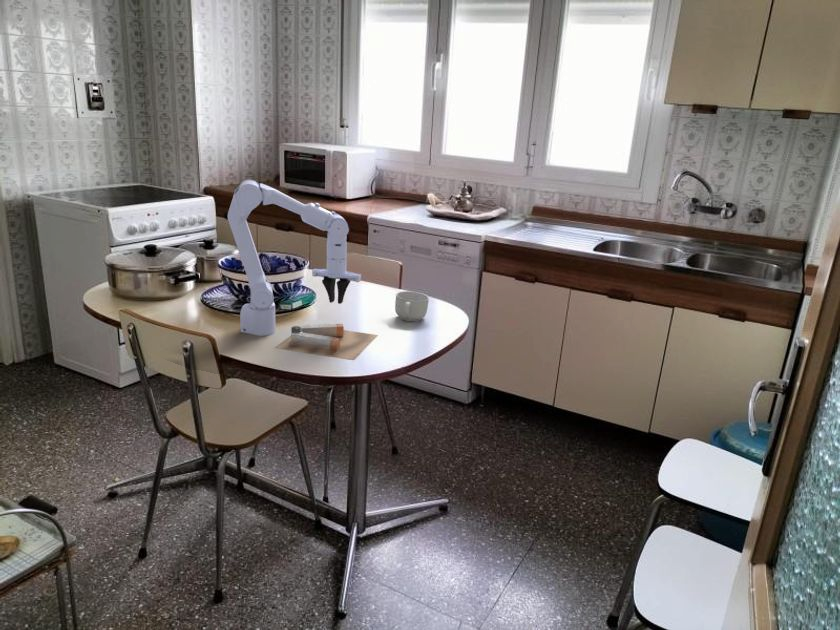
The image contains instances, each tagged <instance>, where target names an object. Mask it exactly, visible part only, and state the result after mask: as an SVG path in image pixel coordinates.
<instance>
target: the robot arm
mask: <svg viewBox="0 0 840 630" xmlns="http://www.w3.org/2000/svg"><path fill="white" fill-rule="evenodd" d="M261 203H262V205H263V206H267V205H271V204H273V205H277V206H279V207H281V208H283V209H286V210H288V211H290V212H292V213H295V214H298V215H300V218H301V220H302V222H304V223H306V224H307V225H310V226H312V227H314V228H316V229H317V230H320V231H322V232H325V231H327V240H326V268H321V269H320V268H313V269H312V271H311V274H312V275H311V276H312V277H313V278H314V277H319V278H320V277H321V278H323V279H322V281H321V282H322V285H323V287H324V288H325V291H326V294H327V297H328V301H329V303H334V302H335V298H336V289H335V288H337V303H338V304H339V305H340V304H342V303H343V302H344V298H345V295H346V291H347V288H348V287H349V285H350V283H351V282H355V283H361V281H362V274H361V273H356V272H352V271H347V263H348V262H347V258H348V256H347V255H348V254H347V250H348V247H347V246H348V243H347V240H348V239H347V238H348V237H347V235H348V234H349V231H350V228H349V225H348V222H347V221H346V219H345V218H344V217H343V216H341V215H340V214H339V213H336V211H333V210H331V211H330V210H327V209H325V208H323V207H321V204H320V203H318V202H315V203H313V202H308V203H303V202H300V201H298V200H297V199H295V198H293V197H291V196H289V195H287V194H285V193H283V192H281V191H280V190H278V189H276V188H273V187H272V186H269V185H267V184H264V183H259V182H257V181H255V180H253V179H245V180H243V181H242V182H240V184H239V185H237V188H235V190H234V194H233V197H232V200H231V202H230V206H229V209H228V212H227V220H228V223H229V226H230V229H231V233H232V234H233V235H232V236H233V238H234V241H235V244H236V246H237V247H236V248H237V251H238V253H239V256H240V259H241V262H242V265H243V268H244V271H245V274H246V276H247V281H248V285H249V289H250V302H249V303H245V304H244V305H242V306H241V308H240V309H241V310H240V313H239V317H240V318H239V319H240V333H245V334H251V335H254V336H261V337H263V336H265V337H266V336H271V335H274V334H275V333H276V304H275V302H274V301H275V300H274V299H275V298H274V294H273V293H274V292H273V289H274V288H273V286H272V284H271V282H270V281H268V279H267V277H266V274H265V272H264V270H263V268H262V267H263V266H262V264H261V260H260V257H259V255H258V251H257V248H256V245H255V243H254V242H255V241H254V239H253V235H252V233H251V230H250V226H249V224H248V220H247V219H248V217H249V215H250V214H251V212H252V211H253V210H254V209H256V208H257V207H258V206H259V205H260V204H261ZM336 280H337V281H336Z"/></svg>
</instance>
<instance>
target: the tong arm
mask: <svg viewBox="0 0 840 630" xmlns="http://www.w3.org/2000/svg"><path fill="white" fill-rule="evenodd" d="M300 327H301V332H302V333H309V334H315V335H322V336H329V337H338V336H343V334H344V330H345V329H344V328H345V327H344V324H343V323H328V324H327V323H325V324H322V323H321V324H301V325H300Z"/></svg>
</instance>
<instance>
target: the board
mask: <svg viewBox="0 0 840 630" xmlns="http://www.w3.org/2000/svg"><path fill="white" fill-rule="evenodd" d="M378 336H379V335H378V334H375V333H366V332H358V331H353V330H348V329H344V334H343V336H338V337H335V338H340V349H339V350H338V351H331V350H324V349H318V348H312V347H305V346H299V345H292V344H291V335H290V336H288V337H287V338H286V339H285V340H283V341H282V342H280V343H279V344H278V345H277V346H275V349H280V350H281V349H282V350H288V351H293V352H299V353H306V354H311V355H312V354H313V355H318V356H319V355H320V356H325V357H331V358H338V359H344V360H345V359H346V360H351V361H355V360H356V359H357V358H358V357H359V356H360V355H361V353H362V352H364V351H365V350H366V349H367V347H369V345H370V344H371V343H372V342H373V341H374V340H375V339H376V338H377V337H378Z"/></svg>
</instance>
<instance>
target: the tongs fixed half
mask: <svg viewBox="0 0 840 630" xmlns="http://www.w3.org/2000/svg"><path fill="white" fill-rule="evenodd" d="M290 328H291V329H290V330H291V331H290V332H291V334H290V336H291V344H292V345H299V346H305V347H312V348H318V349H324V350H331V351H338V350H339V349H340V338H335V337H329V336H322V335H315V334H309V333H302V332H301V326H299V325H298V326H296V325H295V326H291V327H290Z"/></svg>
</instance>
